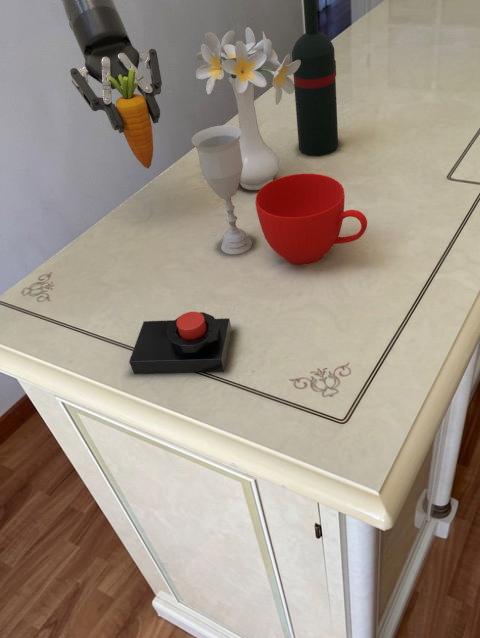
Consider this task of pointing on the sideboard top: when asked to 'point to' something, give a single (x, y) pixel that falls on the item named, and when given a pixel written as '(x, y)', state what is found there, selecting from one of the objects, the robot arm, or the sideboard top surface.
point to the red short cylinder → (191, 325)
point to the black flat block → (181, 348)
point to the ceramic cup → (304, 216)
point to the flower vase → (248, 94)
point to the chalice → (223, 176)
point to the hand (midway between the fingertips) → (139, 125)
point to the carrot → (134, 118)
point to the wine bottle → (315, 88)
